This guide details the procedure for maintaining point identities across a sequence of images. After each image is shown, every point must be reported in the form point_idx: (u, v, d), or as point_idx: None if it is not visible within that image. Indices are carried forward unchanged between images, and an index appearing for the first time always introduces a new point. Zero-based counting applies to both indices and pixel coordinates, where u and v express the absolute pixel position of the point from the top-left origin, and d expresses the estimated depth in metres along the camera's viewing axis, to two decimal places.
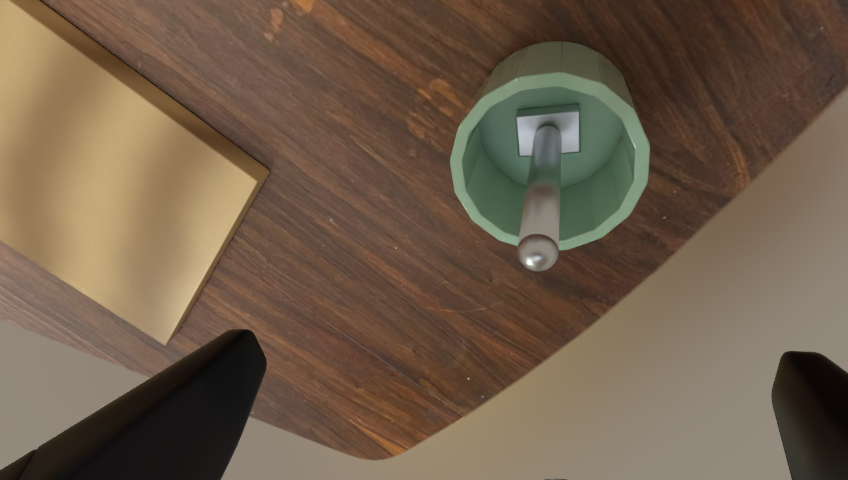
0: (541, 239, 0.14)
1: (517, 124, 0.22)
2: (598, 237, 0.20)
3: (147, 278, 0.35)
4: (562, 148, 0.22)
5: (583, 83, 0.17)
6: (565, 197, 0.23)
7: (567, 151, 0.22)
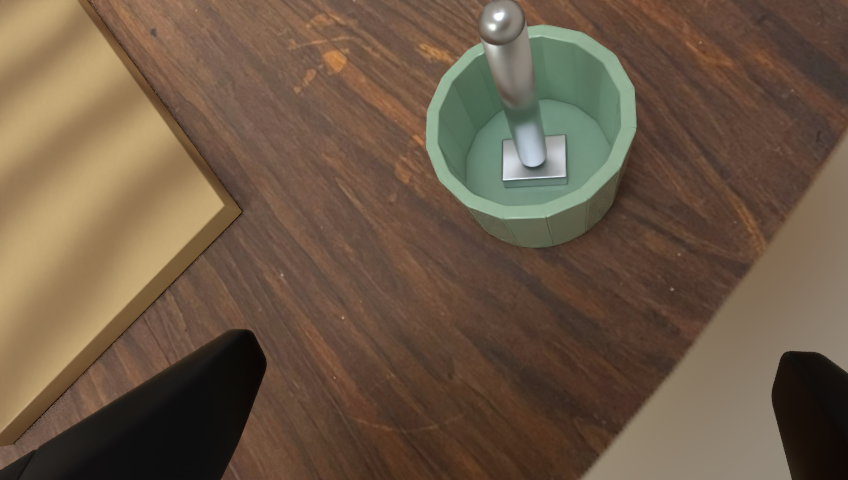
0: None
1: (503, 147, 0.21)
2: (584, 198, 0.16)
3: (35, 329, 0.28)
4: (548, 171, 0.21)
5: (564, 33, 0.17)
6: None
7: (553, 175, 0.20)
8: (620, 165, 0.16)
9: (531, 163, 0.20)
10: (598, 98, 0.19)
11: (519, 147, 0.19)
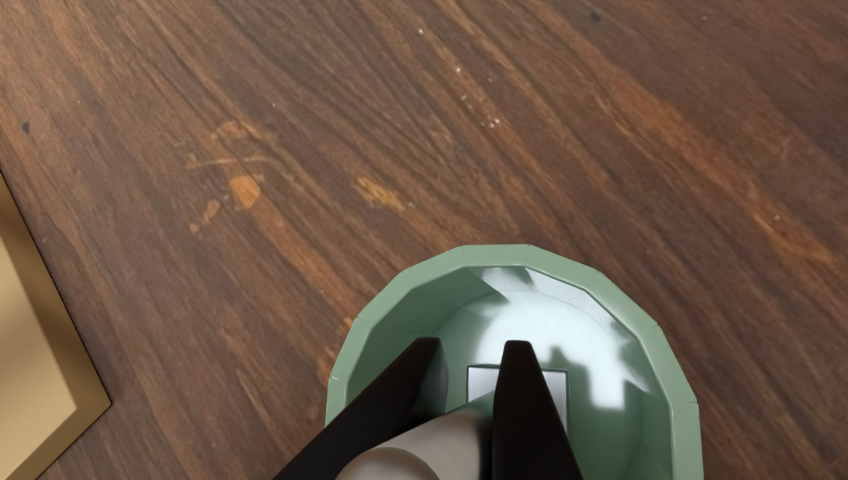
0: (400, 463, 0.04)
1: (469, 379, 0.14)
2: None
3: None
4: None
5: (565, 266, 0.10)
6: None
7: None
8: None
9: None
10: (620, 338, 0.12)
11: None
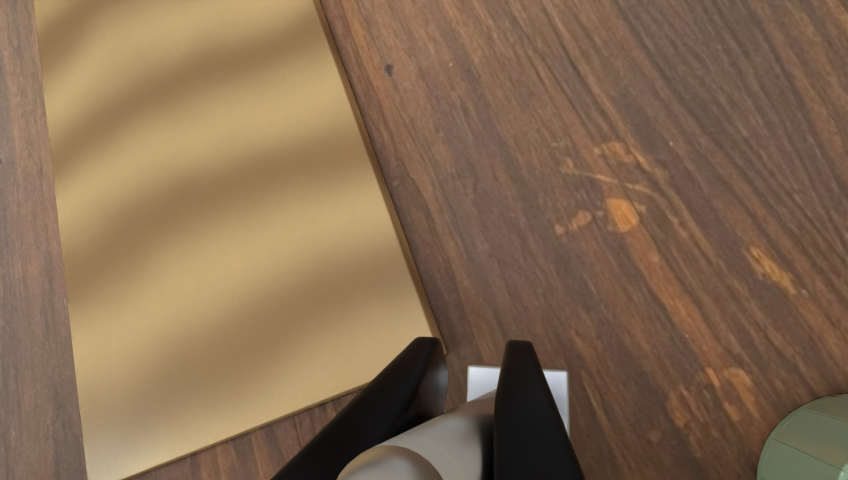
0: (402, 461, 0.04)
1: (469, 378, 0.14)
2: None
3: (174, 386, 0.24)
4: None
5: None
6: None
7: None
8: None
9: None
10: None
11: None
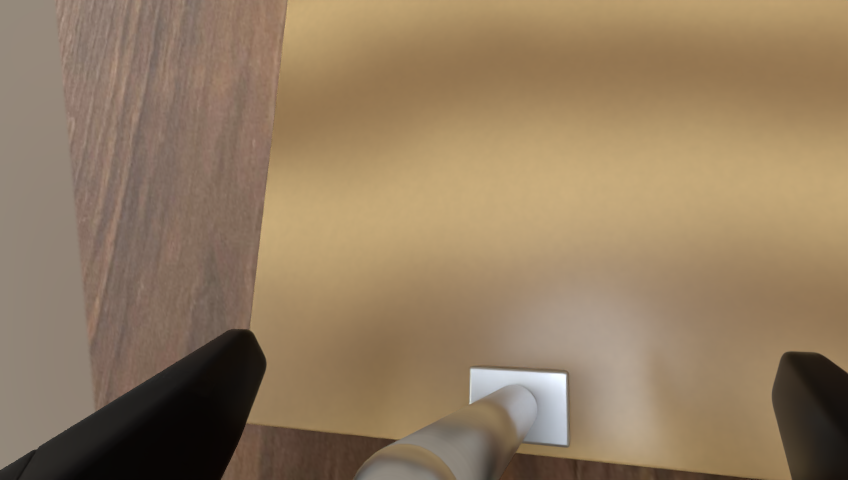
0: (417, 458, 0.05)
1: (471, 380, 0.14)
2: None
3: (410, 333, 0.16)
4: (539, 434, 0.13)
5: None
6: None
7: (547, 441, 0.13)
8: None
9: None
10: None
11: None
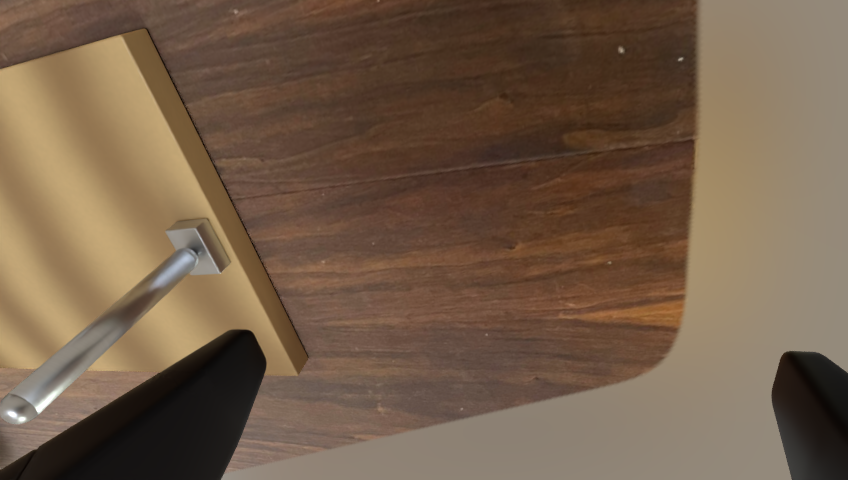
0: None
1: (195, 274, 0.25)
2: None
3: (207, 297, 0.27)
4: (197, 242, 0.24)
5: None
6: None
7: (198, 238, 0.24)
8: None
9: (191, 261, 0.23)
10: None
11: (170, 288, 0.22)
